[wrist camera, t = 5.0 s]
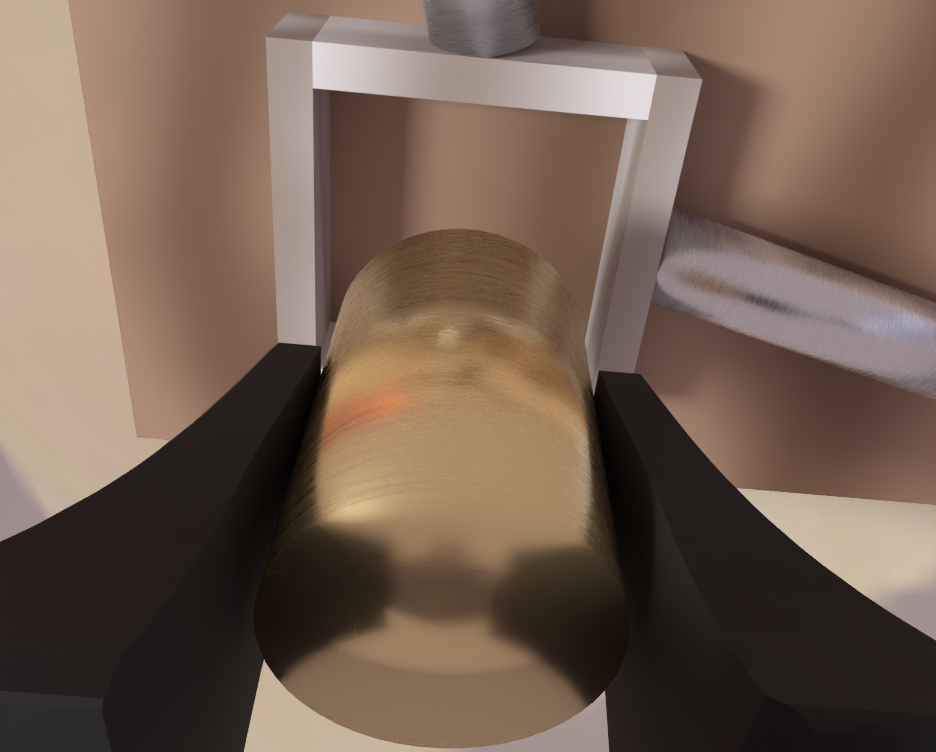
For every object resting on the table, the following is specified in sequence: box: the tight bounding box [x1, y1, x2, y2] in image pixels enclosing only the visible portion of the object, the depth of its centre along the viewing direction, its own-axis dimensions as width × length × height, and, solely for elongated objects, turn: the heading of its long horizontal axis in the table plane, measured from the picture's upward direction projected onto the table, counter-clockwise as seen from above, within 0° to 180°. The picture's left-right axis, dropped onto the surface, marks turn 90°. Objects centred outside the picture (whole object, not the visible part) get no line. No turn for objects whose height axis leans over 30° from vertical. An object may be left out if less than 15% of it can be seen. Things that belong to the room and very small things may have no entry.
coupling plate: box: [68, 0, 936, 505], centre depth 17 cm, size 22×20×4 cm
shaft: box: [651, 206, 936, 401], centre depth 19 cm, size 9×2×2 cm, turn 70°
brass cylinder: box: [253, 229, 630, 748], centre depth 12 cm, size 4×4×6 cm
